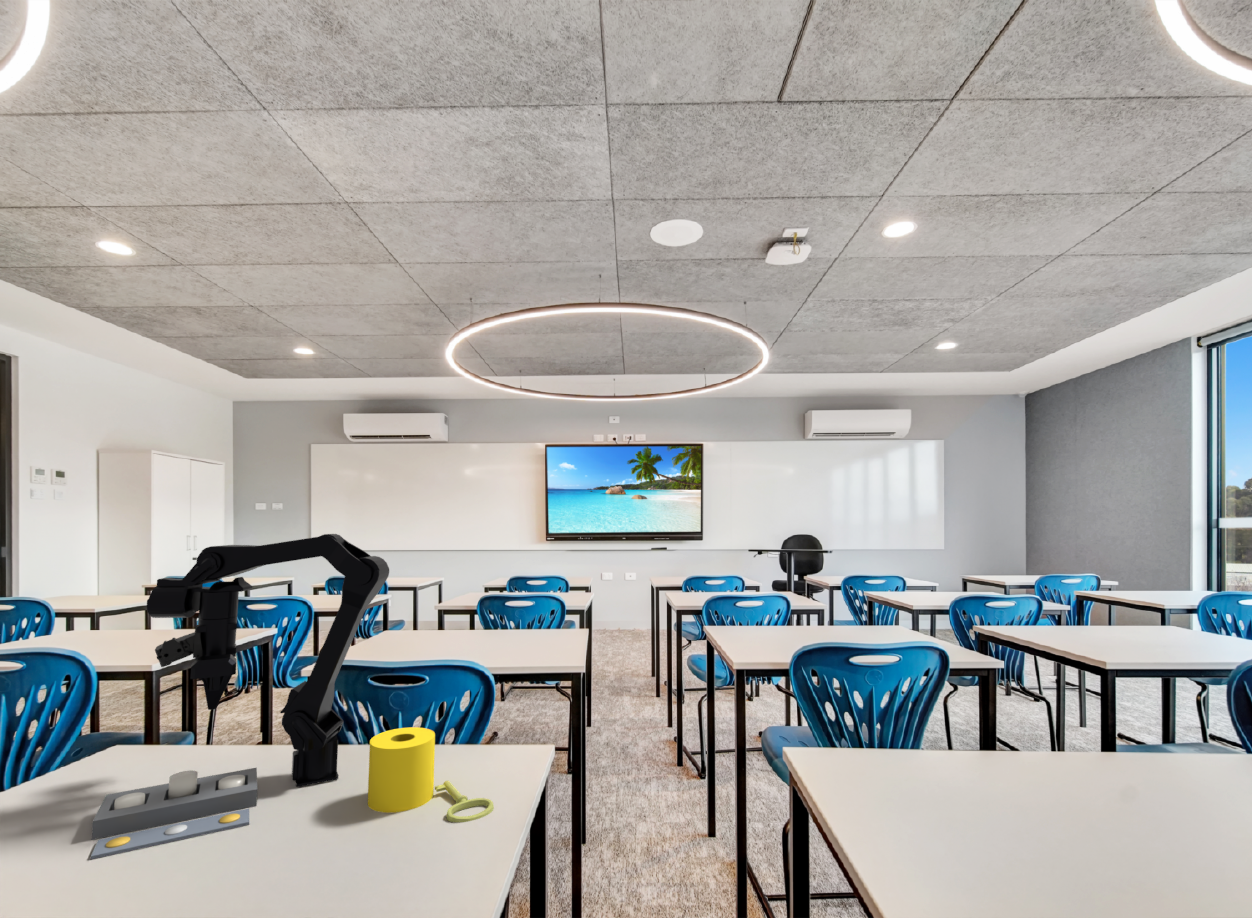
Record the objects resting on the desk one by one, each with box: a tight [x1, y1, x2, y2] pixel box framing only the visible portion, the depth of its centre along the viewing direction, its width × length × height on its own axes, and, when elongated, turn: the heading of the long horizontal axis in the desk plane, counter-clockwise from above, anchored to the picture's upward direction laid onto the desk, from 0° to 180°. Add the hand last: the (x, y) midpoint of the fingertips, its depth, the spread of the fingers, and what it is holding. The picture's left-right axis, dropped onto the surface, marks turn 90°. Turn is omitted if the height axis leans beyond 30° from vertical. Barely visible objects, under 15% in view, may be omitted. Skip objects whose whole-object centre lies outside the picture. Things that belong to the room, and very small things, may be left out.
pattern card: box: [90, 808, 250, 860], centre depth 89 cm, size 18×5×1 cm, turn 121°
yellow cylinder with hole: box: [367, 726, 436, 814], centre depth 101 cm, size 10×10×9 cm
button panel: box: [90, 767, 258, 841], centre depth 97 cm, size 20×10×2 cm, turn 121°
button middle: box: [168, 770, 199, 799], centre depth 97 cm, size 4×4×3 cm
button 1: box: [114, 793, 145, 810], centre depth 93 cm, size 4×4×3 cm
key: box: [434, 780, 495, 823], centre depth 97 cm, size 7×12×2 cm, turn 56°
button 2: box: [218, 775, 245, 790], centre depth 100 cm, size 4×4×3 cm
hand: (211, 709), depth 107 cm, fingers closed
